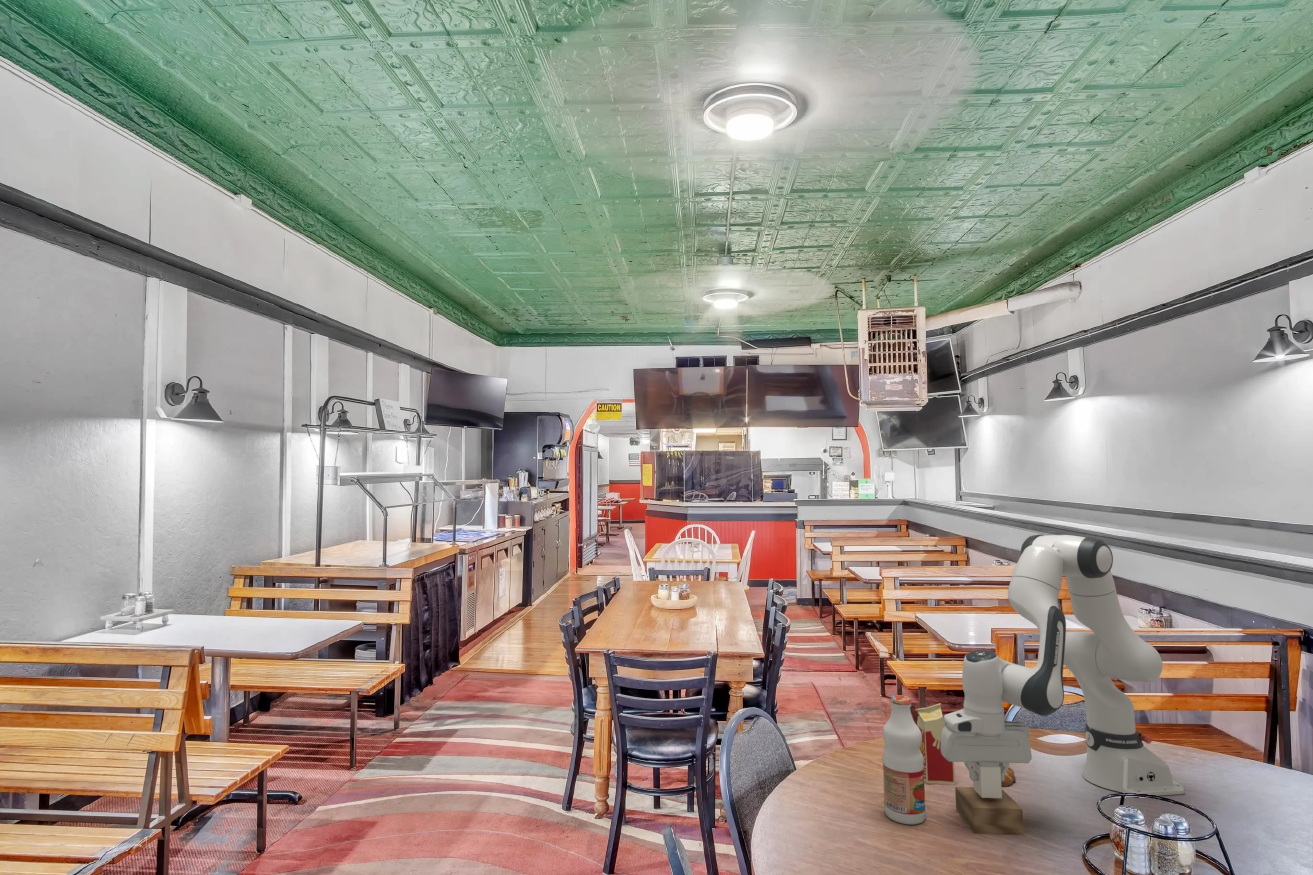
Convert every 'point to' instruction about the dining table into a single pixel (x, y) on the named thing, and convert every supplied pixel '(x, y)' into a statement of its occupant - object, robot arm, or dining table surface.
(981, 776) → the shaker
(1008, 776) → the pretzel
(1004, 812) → the block
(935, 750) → the milk carton
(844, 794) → the dining table surface
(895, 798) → the fruit juice
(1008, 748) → the robot arm
